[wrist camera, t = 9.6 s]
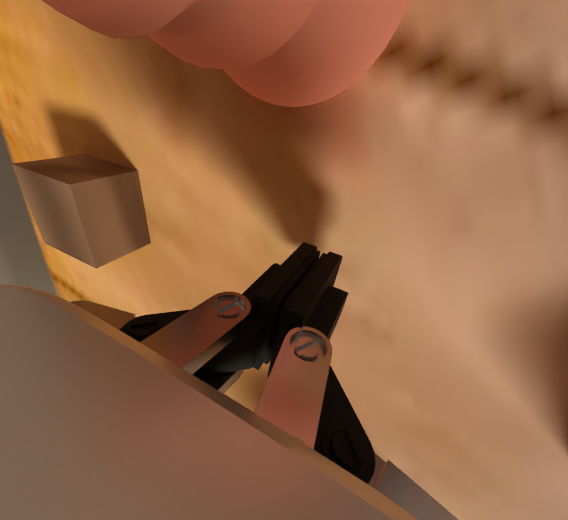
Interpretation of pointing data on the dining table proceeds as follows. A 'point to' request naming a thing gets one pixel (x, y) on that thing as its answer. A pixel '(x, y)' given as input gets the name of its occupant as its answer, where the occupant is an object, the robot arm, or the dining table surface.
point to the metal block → (86, 206)
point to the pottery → (257, 38)
